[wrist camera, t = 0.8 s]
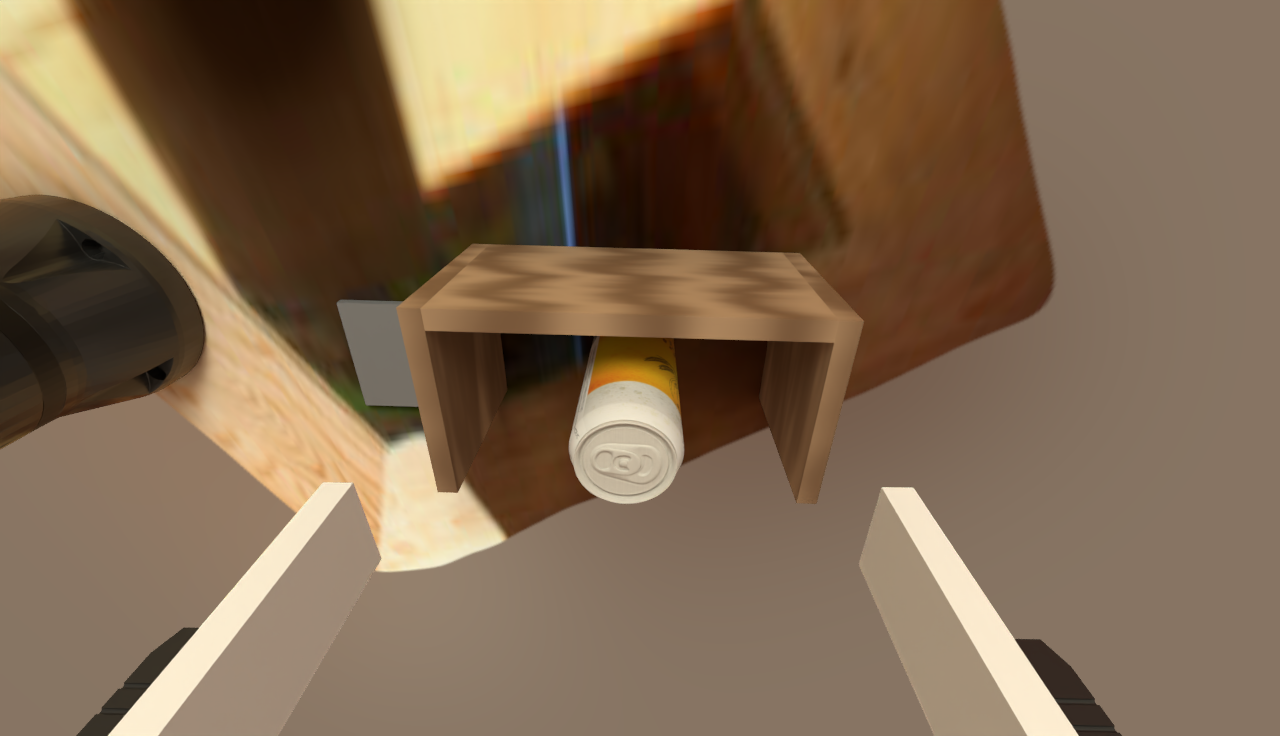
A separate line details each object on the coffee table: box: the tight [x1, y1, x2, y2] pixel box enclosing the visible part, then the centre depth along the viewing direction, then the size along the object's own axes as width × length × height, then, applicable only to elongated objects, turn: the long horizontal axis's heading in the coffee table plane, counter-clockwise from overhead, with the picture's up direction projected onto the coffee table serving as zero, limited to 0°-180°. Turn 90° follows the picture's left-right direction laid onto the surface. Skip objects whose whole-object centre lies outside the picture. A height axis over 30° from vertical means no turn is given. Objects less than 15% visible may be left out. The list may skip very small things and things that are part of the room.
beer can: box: [569, 336, 684, 504], centre depth 32 cm, size 6×6×15 cm
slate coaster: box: [337, 300, 419, 407], centre depth 39 cm, size 9×9×1 cm
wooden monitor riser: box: [396, 244, 864, 504], centre depth 33 cm, size 23×12×12 cm, turn 89°
